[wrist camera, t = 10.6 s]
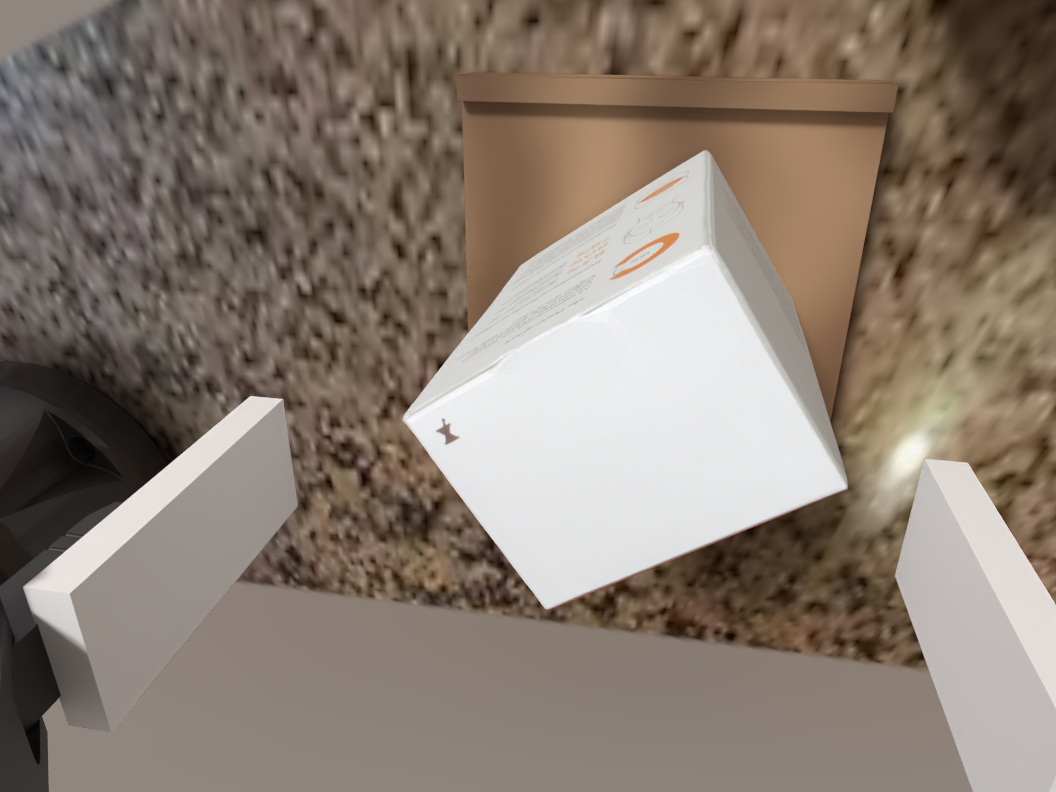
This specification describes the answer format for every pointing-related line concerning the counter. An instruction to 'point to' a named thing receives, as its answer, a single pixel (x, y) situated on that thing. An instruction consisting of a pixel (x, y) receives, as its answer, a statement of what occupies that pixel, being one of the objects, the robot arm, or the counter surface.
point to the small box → (633, 394)
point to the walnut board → (663, 144)
